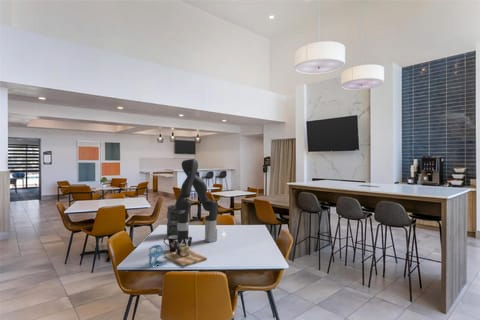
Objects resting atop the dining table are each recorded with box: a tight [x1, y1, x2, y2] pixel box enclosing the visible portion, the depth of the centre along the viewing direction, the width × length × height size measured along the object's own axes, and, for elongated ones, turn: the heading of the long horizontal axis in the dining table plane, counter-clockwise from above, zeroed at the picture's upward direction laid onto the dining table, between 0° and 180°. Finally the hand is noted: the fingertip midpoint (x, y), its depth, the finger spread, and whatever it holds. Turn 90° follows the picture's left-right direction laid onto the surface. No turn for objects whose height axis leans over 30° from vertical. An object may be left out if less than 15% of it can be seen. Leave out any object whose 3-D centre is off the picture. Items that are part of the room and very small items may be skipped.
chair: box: [147, 244, 166, 268], centre depth 170 cm, size 8×8×12 cm
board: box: [163, 249, 208, 268], centre depth 182 cm, size 18×24×2 cm
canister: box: [166, 204, 185, 237], centre depth 236 cm, size 16×16×28 cm
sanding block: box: [176, 244, 190, 257], centre depth 185 cm, size 5×9×6 cm, turn 44°
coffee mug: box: [163, 235, 178, 253], centre depth 198 cm, size 12×9×10 cm
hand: (182, 253), depth 184 cm, fingers closed on sanding block, 5 cm apart
